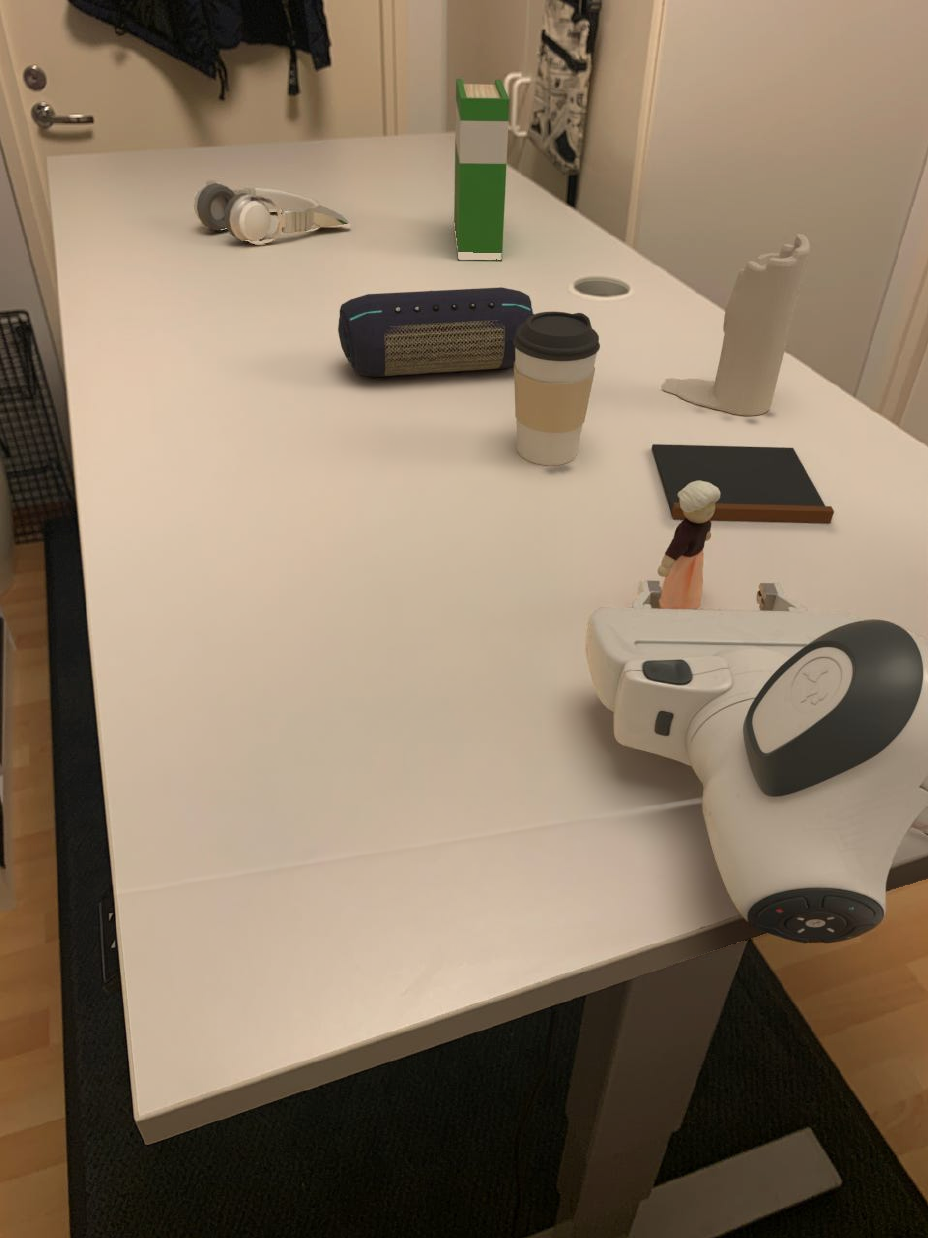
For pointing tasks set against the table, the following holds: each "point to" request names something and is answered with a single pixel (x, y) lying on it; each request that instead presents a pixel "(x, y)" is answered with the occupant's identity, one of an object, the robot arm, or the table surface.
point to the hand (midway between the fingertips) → (707, 588)
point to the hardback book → (480, 166)
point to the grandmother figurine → (688, 548)
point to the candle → (752, 334)
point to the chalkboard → (743, 482)
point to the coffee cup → (553, 384)
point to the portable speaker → (432, 330)
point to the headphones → (259, 211)
